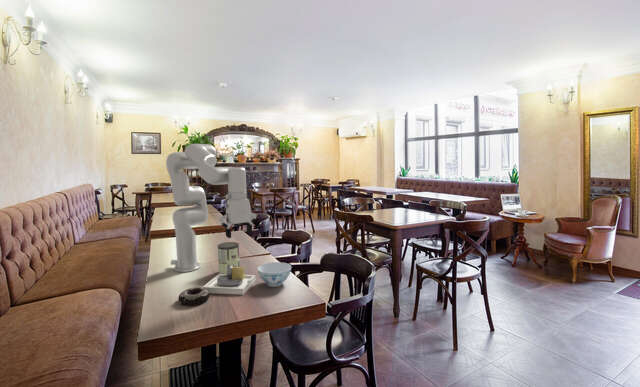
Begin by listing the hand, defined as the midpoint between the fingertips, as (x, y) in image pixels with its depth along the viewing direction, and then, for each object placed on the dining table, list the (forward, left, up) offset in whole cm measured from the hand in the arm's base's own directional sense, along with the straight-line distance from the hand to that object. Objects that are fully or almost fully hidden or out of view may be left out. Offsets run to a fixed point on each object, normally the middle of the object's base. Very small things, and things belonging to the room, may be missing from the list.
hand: (239, 235), depth 141 cm
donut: (-14, -14, -24) cm, 31 cm away
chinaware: (+14, +6, -24) cm, 28 cm away
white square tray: (-5, +1, -23) cm, 24 cm away
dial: (-5, +1, -22) cm, 22 cm away
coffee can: (-13, +19, -24) cm, 33 cm away
